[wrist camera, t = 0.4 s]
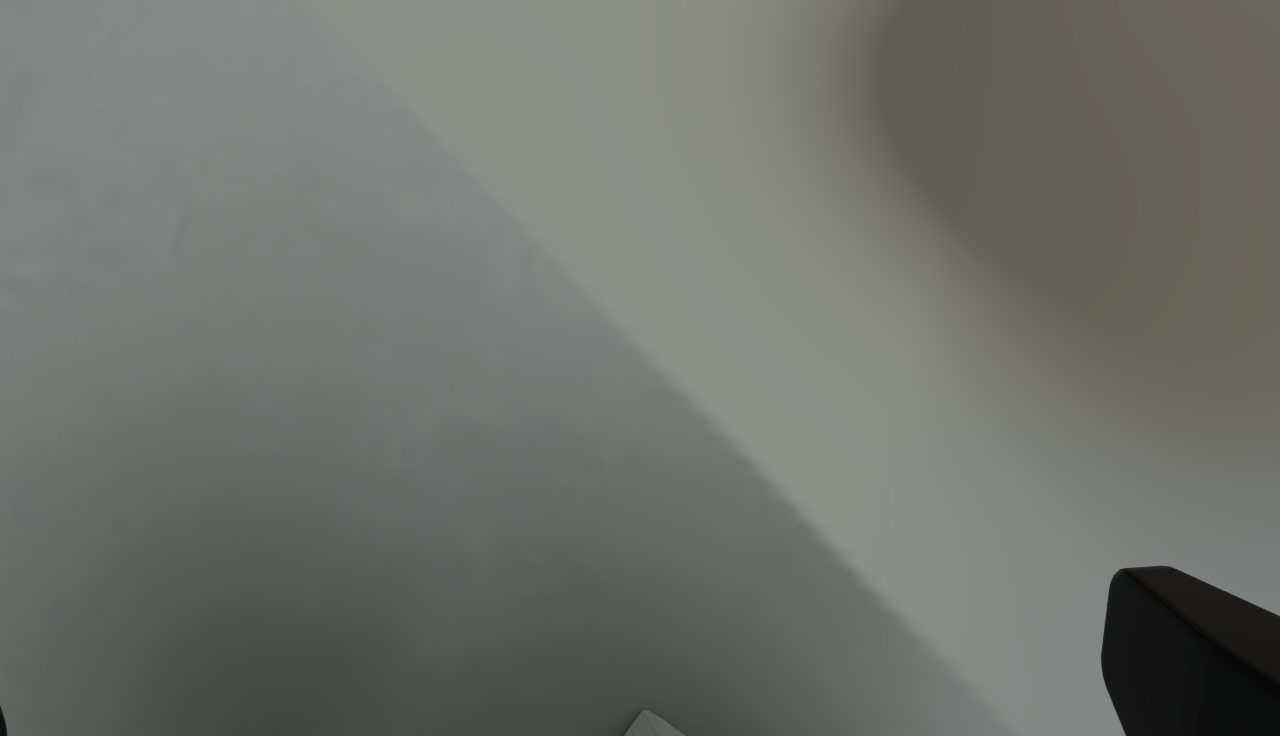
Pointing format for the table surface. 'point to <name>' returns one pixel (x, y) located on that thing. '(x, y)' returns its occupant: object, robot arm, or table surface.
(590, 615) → the table surface
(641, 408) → the table surface
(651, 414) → the table surface
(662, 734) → the supplement box
